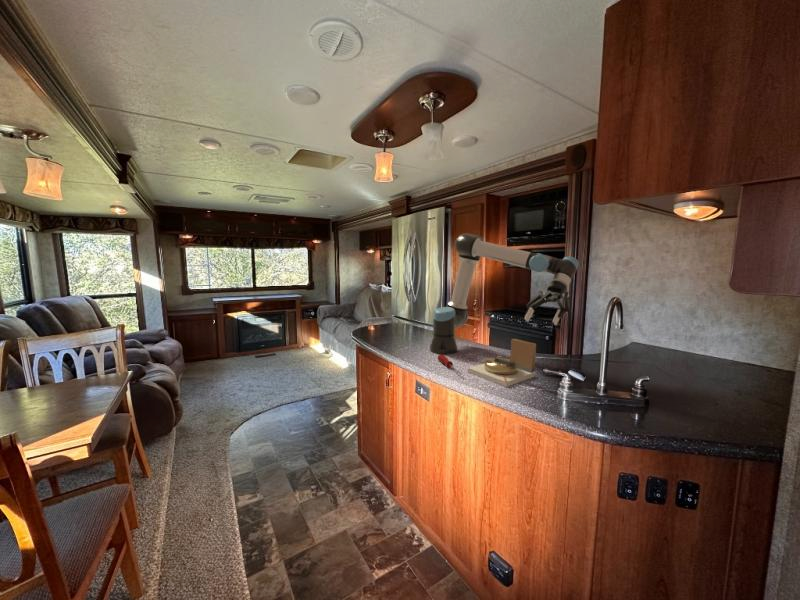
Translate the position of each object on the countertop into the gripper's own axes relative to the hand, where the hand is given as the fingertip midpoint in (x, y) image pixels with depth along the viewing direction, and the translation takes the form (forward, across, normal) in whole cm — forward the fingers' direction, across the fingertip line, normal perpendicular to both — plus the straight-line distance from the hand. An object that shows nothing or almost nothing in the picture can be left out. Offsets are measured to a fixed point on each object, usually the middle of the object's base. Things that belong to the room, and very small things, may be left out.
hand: (539, 321), depth 140 cm
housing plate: (+28, +8, -3) cm, 29 cm away
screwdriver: (+37, +25, +8) cm, 45 cm away
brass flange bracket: (+26, +3, -2) cm, 26 cm away
